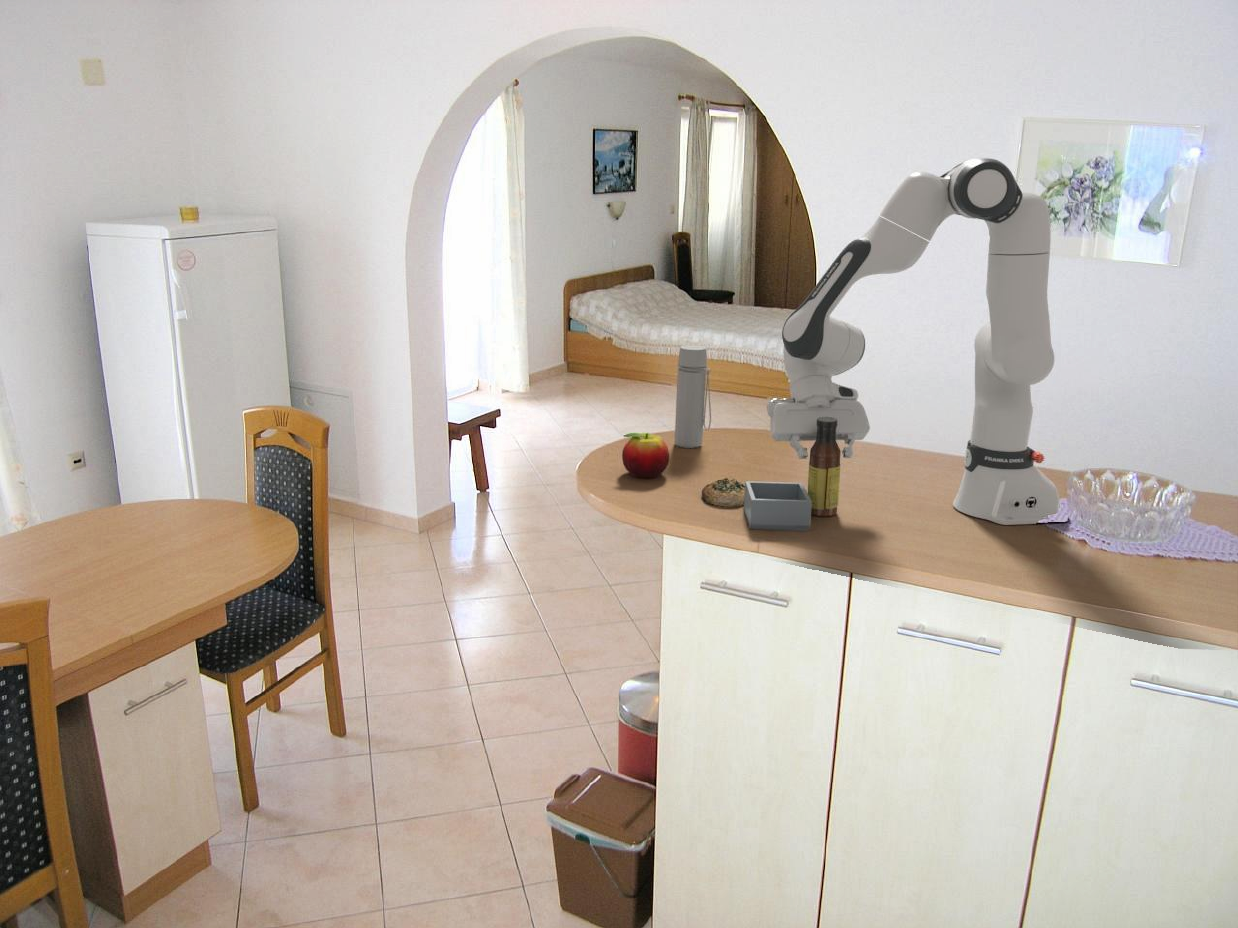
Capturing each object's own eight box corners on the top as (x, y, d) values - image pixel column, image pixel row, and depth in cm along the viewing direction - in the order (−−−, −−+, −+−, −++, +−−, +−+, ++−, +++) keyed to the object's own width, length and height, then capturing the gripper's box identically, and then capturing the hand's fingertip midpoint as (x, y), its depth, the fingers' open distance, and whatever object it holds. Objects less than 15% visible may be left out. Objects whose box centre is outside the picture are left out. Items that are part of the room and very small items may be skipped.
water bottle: (669, 447, 238) (673, 348, 231) (679, 439, 245) (683, 343, 238) (704, 452, 235) (709, 352, 228) (713, 444, 242) (719, 347, 235)
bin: (799, 510, 196) (802, 482, 194) (809, 530, 185) (812, 501, 183) (743, 508, 196) (745, 481, 194) (749, 529, 185) (751, 499, 183)
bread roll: (708, 487, 209) (712, 466, 207) (756, 501, 206) (761, 479, 204) (693, 504, 199) (697, 482, 197) (744, 519, 196) (748, 497, 194)
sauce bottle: (835, 508, 198) (844, 415, 192) (838, 518, 192) (848, 423, 186) (803, 506, 198) (811, 414, 193) (806, 516, 192) (814, 421, 187)
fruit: (673, 481, 212) (674, 438, 209) (625, 482, 211) (626, 439, 208) (663, 467, 222) (665, 425, 220) (617, 468, 221) (618, 426, 218)
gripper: (769, 390, 194) (780, 450, 187) (864, 390, 197) (878, 448, 190) (761, 407, 199) (772, 465, 193) (854, 406, 202) (867, 463, 196)
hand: (826, 457), depth 192 cm, fingers open, 8 cm apart
